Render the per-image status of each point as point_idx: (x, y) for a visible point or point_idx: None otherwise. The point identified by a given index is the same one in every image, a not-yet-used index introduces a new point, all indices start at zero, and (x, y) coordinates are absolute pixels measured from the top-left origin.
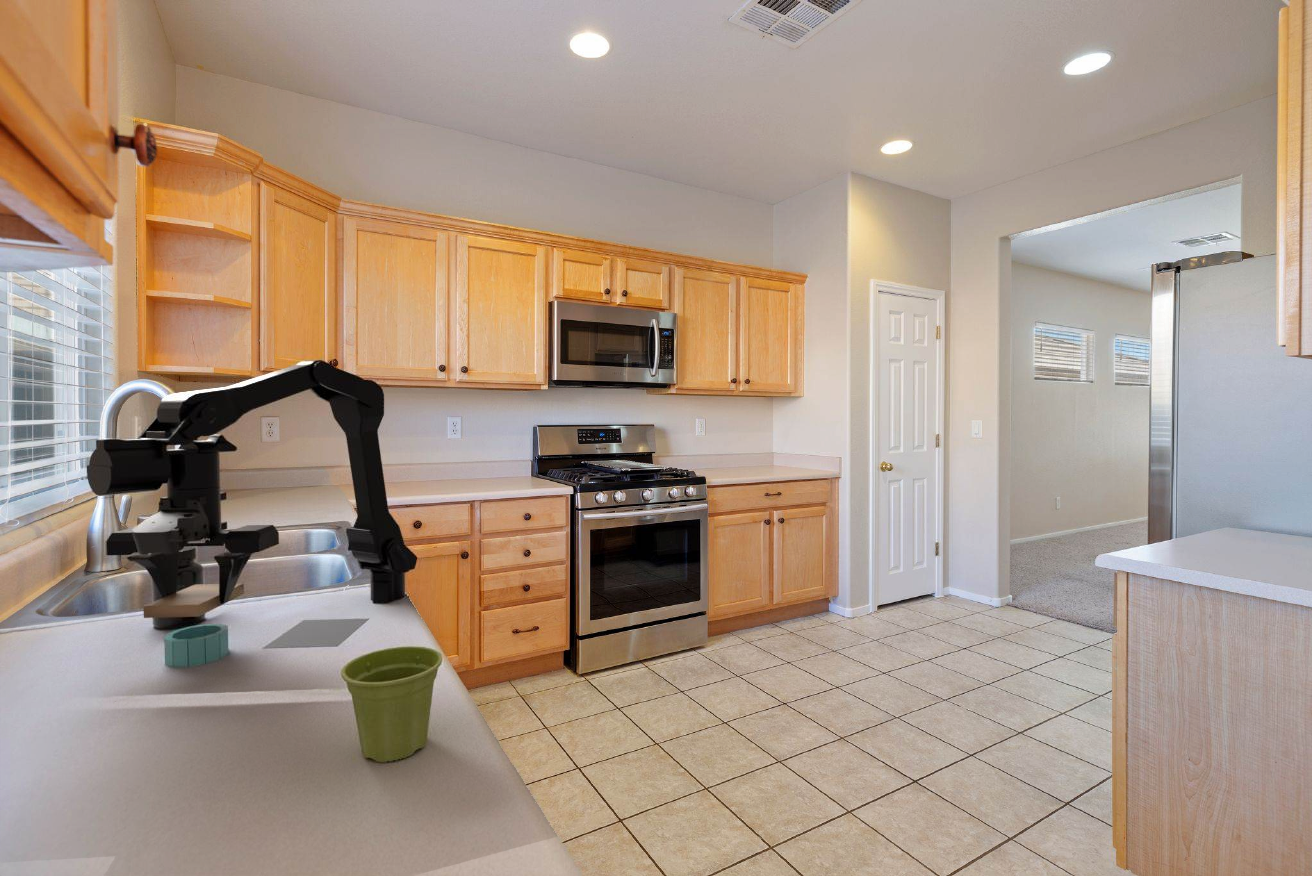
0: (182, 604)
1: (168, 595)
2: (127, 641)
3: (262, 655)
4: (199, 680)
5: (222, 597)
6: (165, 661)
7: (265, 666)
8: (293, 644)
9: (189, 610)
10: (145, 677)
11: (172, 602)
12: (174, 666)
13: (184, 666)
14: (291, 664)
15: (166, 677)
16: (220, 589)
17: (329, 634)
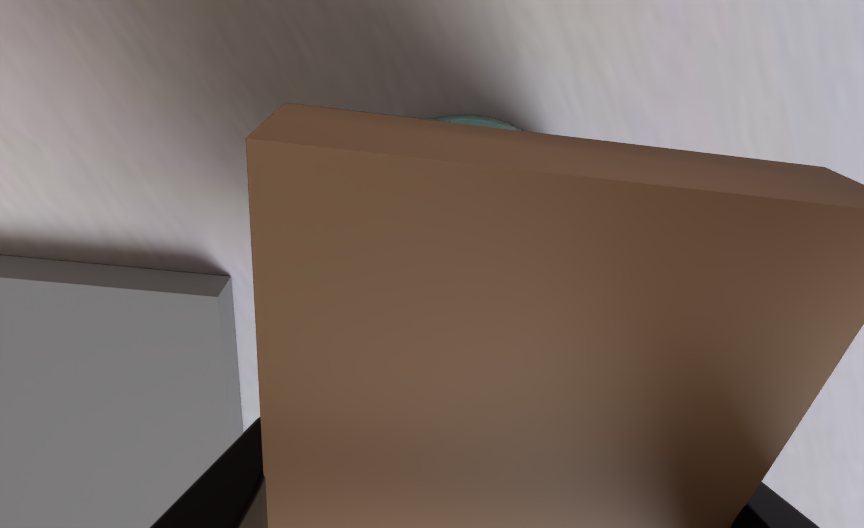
0: (477, 195)
1: (739, 514)
2: (795, 484)
3: (243, 292)
4: (365, 38)
5: (243, 452)
6: None
7: (146, 162)
8: (99, 316)
9: (375, 129)
10: (628, 132)
11: (632, 300)
12: (512, 129)
13: (464, 123)
14: (33, 165)
15: (536, 113)
16: (218, 520)
17: (18, 401)
